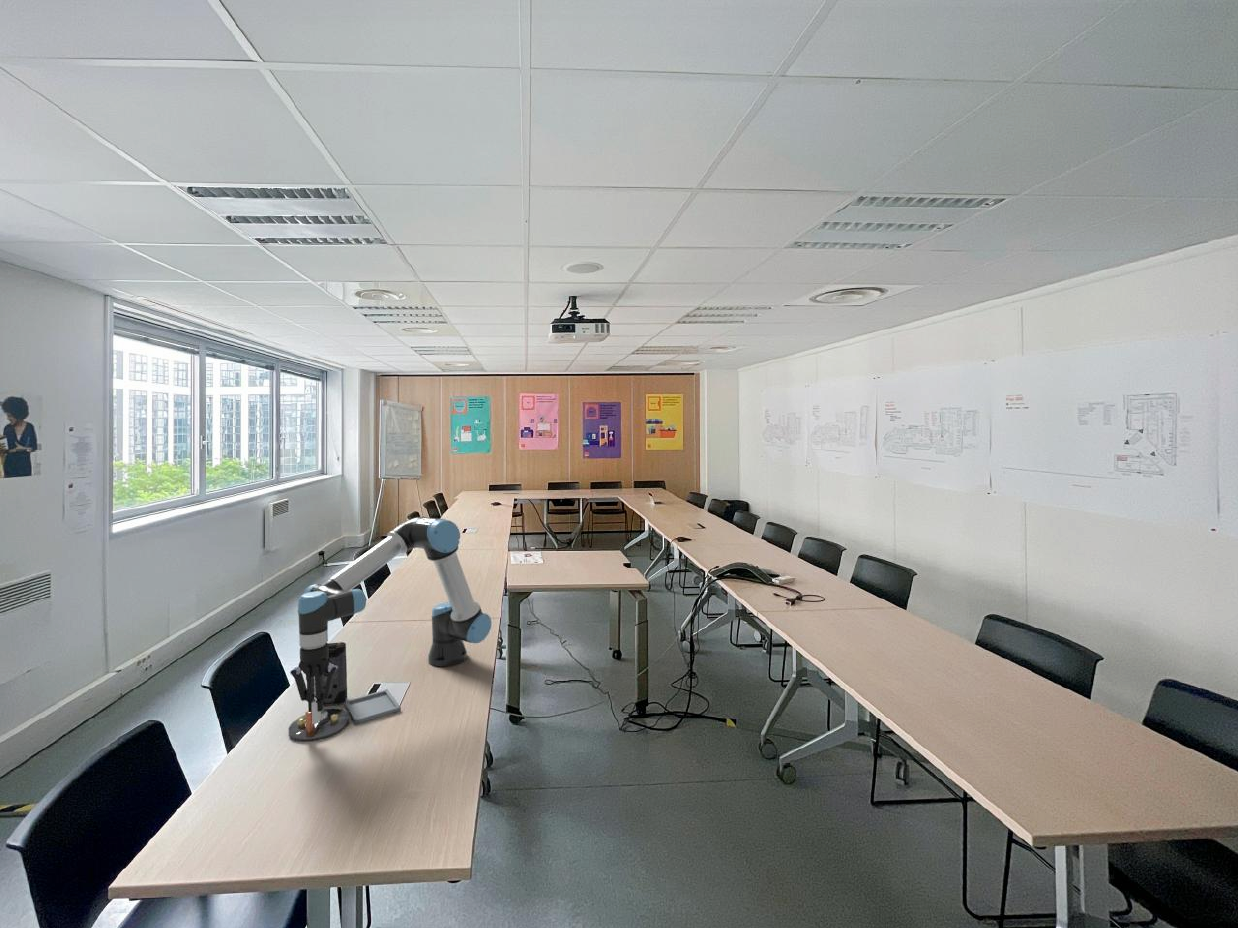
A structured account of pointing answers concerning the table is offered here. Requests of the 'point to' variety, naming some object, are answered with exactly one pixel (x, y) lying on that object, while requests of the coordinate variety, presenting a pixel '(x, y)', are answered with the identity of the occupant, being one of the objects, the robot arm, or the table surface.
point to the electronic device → (336, 675)
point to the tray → (372, 706)
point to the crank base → (320, 726)
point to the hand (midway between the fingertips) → (316, 721)
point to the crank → (313, 727)
